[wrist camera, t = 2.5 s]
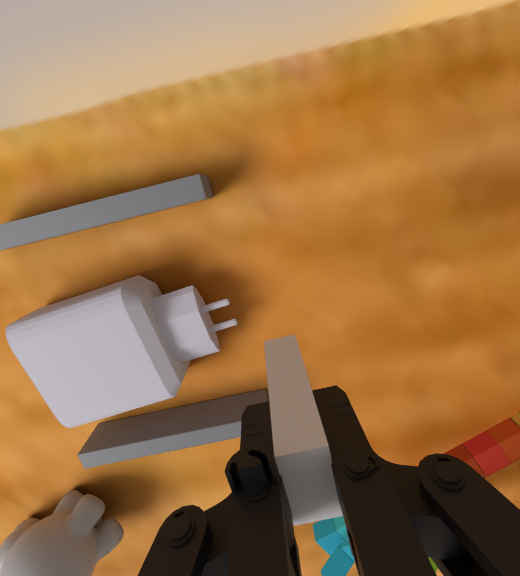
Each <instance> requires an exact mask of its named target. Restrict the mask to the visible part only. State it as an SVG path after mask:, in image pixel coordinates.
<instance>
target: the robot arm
mask: <svg viewBox="0 0 520 576" xmlns="http://www.w3.org/2000/svg"><path fill="white" fill-rule="evenodd" d="M264 346H265V357H266V368H267V380H268V391H269V401H266V402H262V403H257V404H252V405H248V406H247V407H246V409H245V411H244V412H243V414H242V417H241V442H240V450H239V451H238V452H237V453H235V454H234V455H233V456H232V457H231V459H230V460H229V461H228V463H227V466H226V469H225V474H226V477H227V479H228V482H229V485H230V488H231V490H232V493H231V494H230V495H229V496H228V497H227V498H226V499H224V500H223V501H221V502H220V503H218V504H217V505H215V506H213V507H211V508H209V509H208V510H206V511H204V512H203V510H202V509H201V508H200V507H197V506H194V505H189V506H183V507H181V508H179V509H177V510H176V511H174V512H173V513H172V514H171V515H170V516H169V517H167V518H166V519H165V521H164V523H163V524H162V526H161V527H160V529H159V531H158V533H157V535H156V537H155V540H154V542H153V544H152V546H151V548H150V550H149V552H148V555H147V557H146V559H145V561H144V563H143V565H142V568H141V570H140V572H139V574H138V576H302V574H301V567H300V560H299V552H298V546H297V543H296V539H295V536H294V528H293V524H294V526H295V525H300V524H305V523H310V522H315V521H320V520H325V519H330V518H335V517H340V516H343V518H344V521H345V525H346V529H347V534H348V539H349V544H350V548H351V553H352V556H353V557H354V560H355V564H356V567H357V571H358V575H359V576H437V575H436V573H435V571H434V569H433V567H432V565H431V563H430V560H429V558H428V557H431V559H432V560H433V562H434V563H435V564H436V566H437V567H438V569H439V570H440V571H441V573H442V574H443V575H444V576H520V510H519V509H518V508H517V507H516V506H515V505H514V504H513V503H511V502H510V501H509V500H508V499H507V498H506V497H505V496H504V495H502V494H501V493H500V492H499V491H498V490H497V489H496V488H494V487H493V486H492V485H491V484H490V483H489V482H488V481H487V480H485V479H484V478H483V477H482V476H481V475H480V474H479V473H477V472H476V471H475V470H474V469H473V468H472V467H471V466H469V465H468V464H466V463H465V462H464V461H462V460H461V459H459V458H456V457H453V456H451V455H448V454H432V455H428V456H426V457H425V458H424V459H422V460H421V461H420V463H419V466H418V467H417V466H407V465H399V464H394V463H391V462H388V461H386V460H384V459H383V458H381V457H379V456H378V455H377V454H376V453H375V452H374V451H373V449H372V448H371V446H370V444H369V442H368V440H367V438H366V436H365V433H364V431H363V429H362V427H361V425H360V423H359V421H358V418H357V416H356V414H355V412H354V410H353V408H352V406H351V404H350V401H349V399H348V397H347V395H346V393H345V392H344V391H343V390H341V389H340V388H339V387H338V386H331V387H327V388H322V389H317V390H313V391H312V389H311V386H310V383H309V379H308V376H307V373H306V369H305V366H304V363H303V360H302V356H301V353H300V350H299V346H298V343H297V340H296V336H295V335H290V336H286V337H281V338H277V339H273V340H268V341H264Z"/></svg>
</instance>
